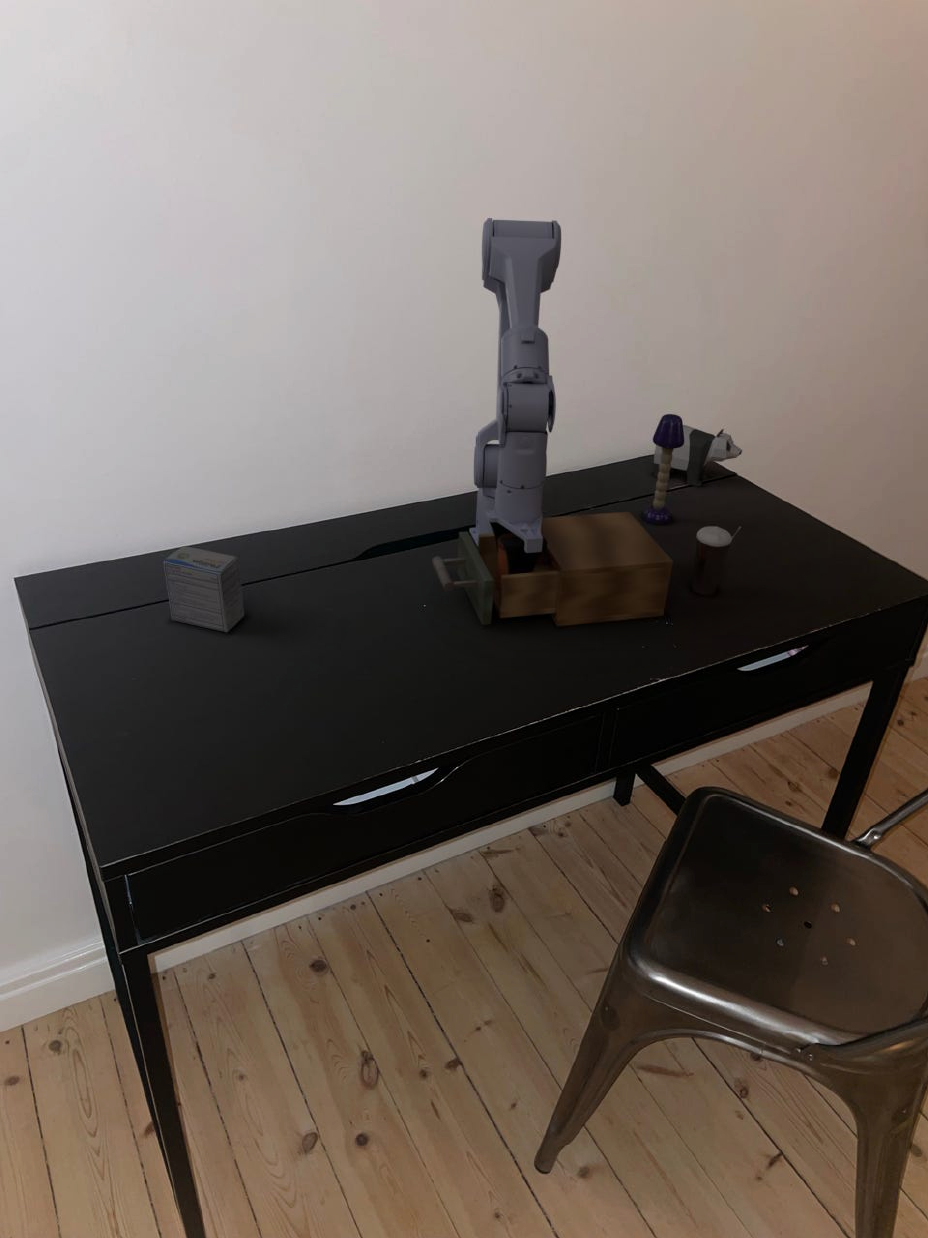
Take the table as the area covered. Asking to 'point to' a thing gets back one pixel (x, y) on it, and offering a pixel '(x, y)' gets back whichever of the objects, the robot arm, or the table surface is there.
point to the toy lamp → (665, 464)
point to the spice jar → (502, 559)
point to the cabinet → (606, 568)
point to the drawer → (515, 591)
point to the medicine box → (204, 588)
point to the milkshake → (710, 558)
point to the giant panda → (698, 453)
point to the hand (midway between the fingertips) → (513, 576)
